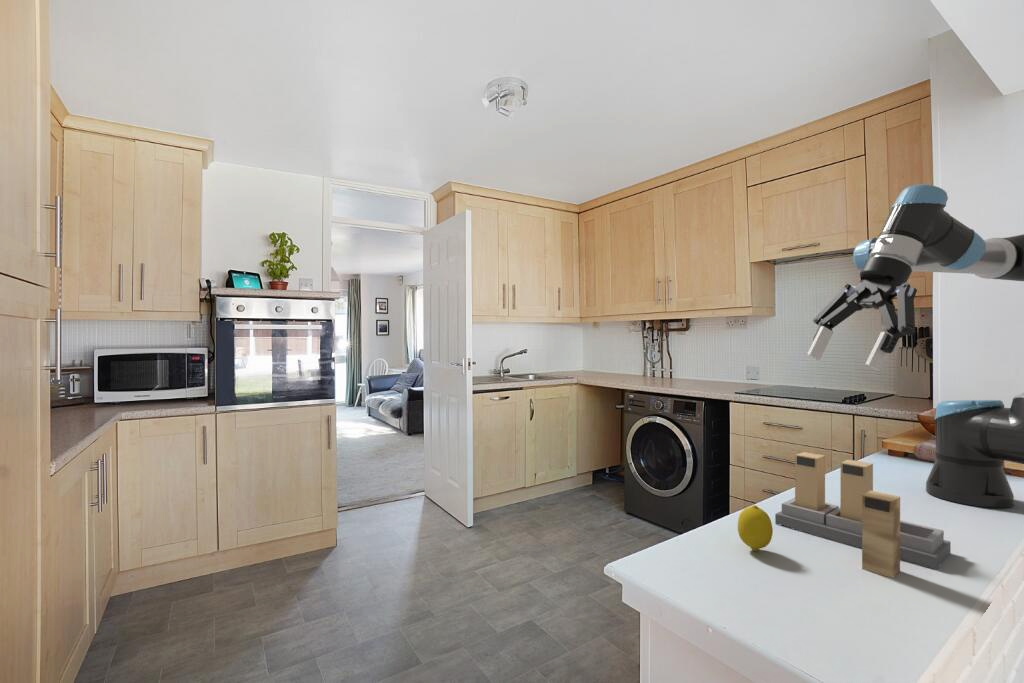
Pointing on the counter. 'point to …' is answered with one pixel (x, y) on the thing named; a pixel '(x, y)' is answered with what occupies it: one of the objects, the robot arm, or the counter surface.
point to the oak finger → (881, 533)
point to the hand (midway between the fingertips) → (840, 362)
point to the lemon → (755, 527)
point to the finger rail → (851, 511)
